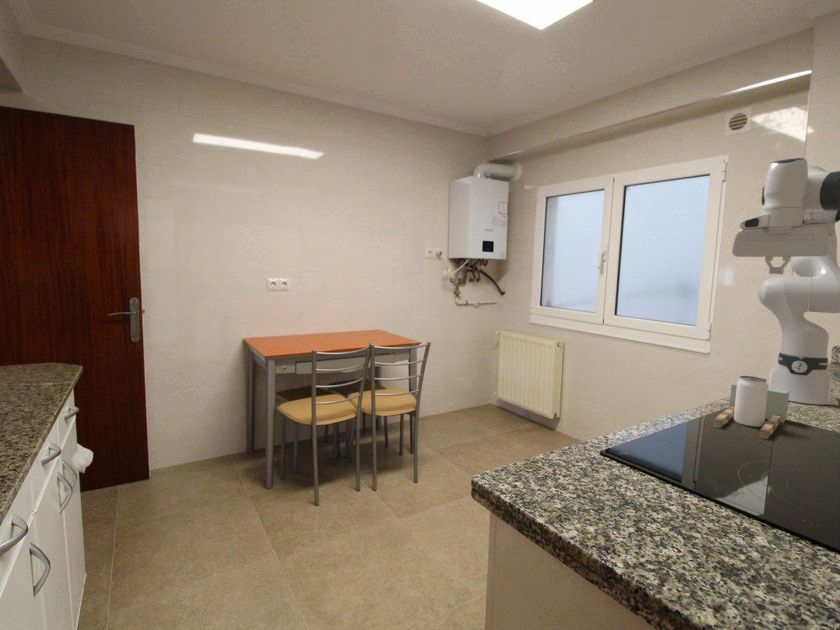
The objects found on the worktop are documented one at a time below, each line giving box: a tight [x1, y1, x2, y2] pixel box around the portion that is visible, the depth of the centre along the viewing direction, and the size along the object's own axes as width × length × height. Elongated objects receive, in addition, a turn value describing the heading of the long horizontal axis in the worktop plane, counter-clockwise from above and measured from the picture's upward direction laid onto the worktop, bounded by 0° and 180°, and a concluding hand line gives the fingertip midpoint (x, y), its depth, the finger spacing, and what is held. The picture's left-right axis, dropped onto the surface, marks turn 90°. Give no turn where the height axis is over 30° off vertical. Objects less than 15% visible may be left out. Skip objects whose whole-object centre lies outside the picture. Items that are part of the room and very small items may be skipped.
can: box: [733, 375, 769, 428], centre depth 115 cm, size 6×6×12 cm
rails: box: [712, 406, 781, 440], centre depth 114 cm, size 17×11×2 cm, turn 133°
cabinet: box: [729, 381, 789, 424], centre depth 122 cm, size 5×12×8 cm, turn 43°
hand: (776, 273), depth 118 cm, fingers closed
